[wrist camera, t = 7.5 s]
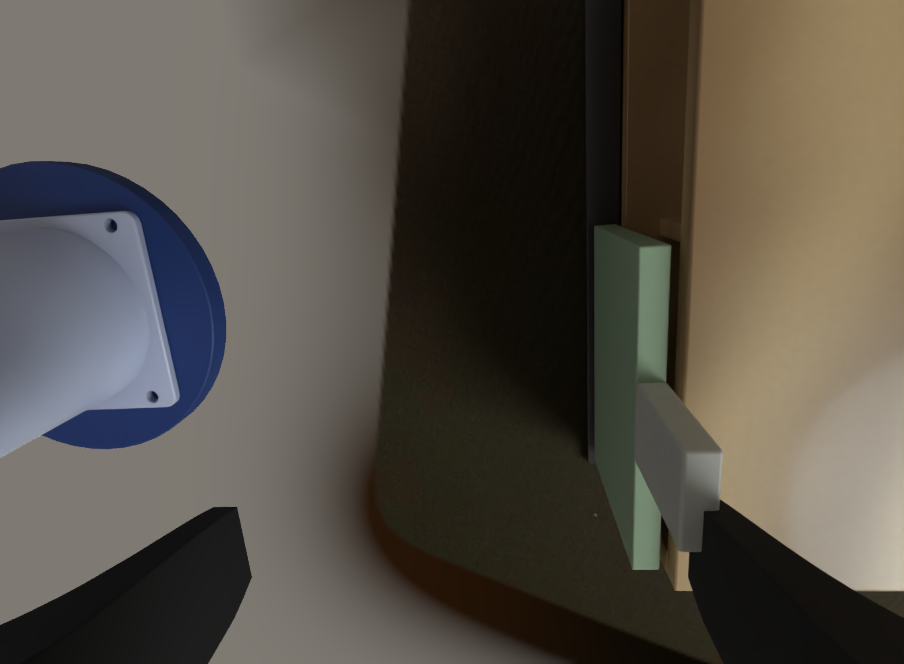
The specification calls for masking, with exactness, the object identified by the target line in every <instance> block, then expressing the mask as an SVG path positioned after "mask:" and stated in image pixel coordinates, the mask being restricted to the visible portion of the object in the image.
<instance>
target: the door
mask: <svg viewBox="0 0 904 664" xmlns="http://www.w3.org/2000/svg"><path fill="white" fill-rule="evenodd" d="M670 264H671V245H669V244H667V243H664V242H661V241H659V240H656V239H653V238H650V237H648V236H645V235H642V234H640V233H637V232H634V231H632V230H629V229H626V228H624V227H621V226H618V225H616V224H612V225H597V226H595V227H594V383H595V462H596V465H597V468H598V471H599V474H600V477H601V480H602V483H603V485H604V488H605V491H606V494H607V497H608V500H609V503H610V506H611V509H612V512H613V515H614V518H615V520H616V523H617V526H618V529H619V532H620V535H621V538H622V541H623V544H624V547H625V550H626V553H627V555H628V558H629V561H630V564H631V567H632V569H633V570H658V569H659V564H660V537H661V515H662V517H663V519H664V521H665V523H666V525H667V527H668V529H669V531H670V534H671V536H672V538H673V540H674V542H675V544H676V546H677V548H678V550H679V551H681V552H701V550H702V536H703V519H704V511H718V510H719V505H720V491H721V477H722V462H723V451H722V449H721V448H720V447H719V445H718V444H717V443H716V442H715V440H714V439H713V438H712V437H711V436H710V434H709V433H708V432H707V431H706V430H705V428H704V427H703V426H702V425H701V424H700V422H699V421H698V420H697V419H696V418H695V416H694V415H693V414H692V413H691V412H690V410H689V409H688V408H687V407H686V406H685V404H684V403H683V402H682V401H681V400H680V398H679V397H678V396H677V395H676V394H675V392H674V391H673V390H672V389H671V387H670V386H669V385H668V384H667V383H666V373H667V346H668V319H669V291H670Z"/></svg>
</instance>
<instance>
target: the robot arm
mask: <svg viewBox="0 0 904 664" xmlns="http://www.w3.org/2000/svg"><path fill="white" fill-rule="evenodd" d="M112 220H114V221H115V222H116V224H117V230H116V231H115V230H114V229H113V228H112V226H111V221H112ZM152 391H154V392H155V393H156V394H157V395H158V399H156V398H155V397H154V396H153V394H152ZM179 398H180V392H179V388H178V383H177V379H176V374H175V370H174V366H173V361H172V357H171V352H170V348H169V344H168V339H167V335H166V330H165V326H164V322H163V317H162V313H161V308H160V304H159V300H158V295H157V291H156V286H155V282H154V278H153V273H152V269H151V264H150V260H149V256H148V251H147V247H146V242H145V238H144V234H143V229H142V225H141V222H140V219H139V218H138V216H137V215H136V214H135V213H133V212H131V211H116V212H103V213H90V214H77V215H64V216H51V217H37V218H24V219H11V220H0V458H1V457H3V456H5V455H7V454H8V453H10V452H12V451H14V450H16V449H17V448H19V447H21V446H23V445H25V444H26V443H28V442H30V441H32V440H34V439H35V438H37V437H39V436H41V435H43V434H44V433H46V432H48V431H50V430H52V429H53V428H55V427H57V426H59V425H61V424H62V423H64V422H66V421H68V420H70V419H71V418H73V417H75V416H77V415H79V414H80V413H82V412H84V411H86V410H101V409H129V408H157V407H169V406H172V405H173V404H175V403H176V402H177V401H178V400H179ZM251 578H252V576H251V571H250V566H249V561H248V557H247V552H246V548H245V543H244V538H243V533H242V529H241V524H240V519H239V514H238V510H237V507H213V508H211V509H209V510H207V511H206V512H203V513H202V514H200V515H198V516H196V517H194V518H193V519H191V520H190V521H188V522H186V523H185V524H183V525H181V526H179V527H178V528H176V529H175V530H173V531H171V532H170V533H168V534H167V535H165V536H163V537H162V538H160V539H158V540H157V541H155V542H154V543H152V544H150V545H149V546H147V547H146V548H144V549H142V550H141V551H139V552H137V553H136V554H134V555H133V556H131V557H129V558H127V559H126V560H124V561H122V562H121V563H119V564H117V565H115V566H114V567H112V568H110V569H109V570H107V571H105V572H103V573H102V574H100V575H98V576H96V577H95V578H93V579H91V580H90V581H88V582H86V583H85V584H83V585H81V586H79V587H77V588H75V589H73V590H72V591H70V592H68V593H66V594H64V595H62V596H60V597H58V598H56V599H54V600H52V601H50V602H48V603H47V604H44V605H42V606H40V607H38V608H36V609H34V610H32V611H30V612H28V613H26V614H24V615H22V616H20V617H17V618H15V619H13V620H11V621H8V622H6V623H4V624H2V625H0V664H208V662H209V661H210V659H211V658H212V656H213V654H214V653H215V651H216V649H217V647H218V646H219V643H220V642H221V641H222V639H223V637H224V635H225V634H226V632H227V630H228V628H229V627H230V625H231V623H232V621H233V619H234V618H235V615H236V613H237V611H238V609H239V607H240V604H241V602H242V600H243V598H244V595H245V592H246V590H247V587H248V585H249V583H250V580H251ZM688 579H689V582H690V585H691V588H692V591H693V594H694V597H695V600H696V603H697V605H698V608H699V611H700V614H701V616H702V619H703V622H704V624H705V626H706V628H707V630H708V633H709V635H710V637H711V639H712V641H713V643H714V645H715V647H716V649H717V651H718V653H719V655H720V657H721V659H722V661H723V663H724V664H904V618H902V617H900V616H899V615H897V614H895V613H893V612H891V611H889V610H888V609H886V608H884V607H882V606H880V605H878V604H877V603H875V602H873V601H871V600H870V599H868V598H866V597H864V596H863V595H861V594H859V593H858V592H856V591H854V590H853V589H851V588H849V587H848V586H846V585H845V584H843V583H841V582H840V581H838V580H837V579H835V578H833V577H832V576H830V575H829V574H827V573H825V572H824V571H822V570H821V569H819V568H818V567H816V566H815V565H813V564H812V563H810V562H809V561H807V560H806V559H804V558H803V557H801V556H800V555H798V554H797V553H795V552H794V551H793V550H791V549H790V548H788V547H787V546H785V545H784V544H782V543H781V542H780V541H778V540H777V539H775V538H774V537H773V536H771V535H770V534H768V533H767V532H766V531H764V530H763V529H761V528H760V527H759V526H757V525H756V524H755V523H753V522H752V521H750V520H749V519H748V518H746V517H745V516H743V515H742V514H741V513H739V512H738V511H736V510H735V509H734V508H732V507H731V506H729V505H728V504H726V503H725V502H723V501H722V500H720V505H719V510H718V511H704V519H703V536H702V550H701V552H689V566H688Z"/></svg>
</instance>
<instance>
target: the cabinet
mask: <svg viewBox="0 0 904 664" xmlns="http://www.w3.org/2000/svg"><path fill="white" fill-rule="evenodd" d="M621 12H622V0H584V63H585V221H586V379H587V462H588V464H596V462H595V383H594V227H595V226H597V225H612V224H616V225H618V226H619V203H620V108H621ZM621 227H624V228H626V229H629V230H632V231H634V232H637V233H640V234H642V235H645V236H648V237H650V238H653V239H656V240H659V241H661V242H664V243H667V244H669V245H671V264H670V291H669V319H668V346H667V373H666V383H667V384H668V385H669V386H670V387H671V389H672V390H673V391H674V392H675V394H676V395H677V396H678V397H679V398H680V400H681V401H682V402H683V403H684V404H685V406H686V407H687V408H688V409H689V410H690V412H691V413H692V414H693V415H694V416H695V418H696V419H697V420H698V421H699V422H700V424H701V425H702V426H703V427H704V428H705V430H706V431H707V432H708V433H709V434H710V436H711V437H712V438H713V439H714V440H715V442H716V443H717V444H718V445H719V447H720V448H721V449H722V451H723V462H722V477H721V491H720V500H722V501H723V502H725V503H726V504H728V505H729V506H731V507H732V508H734V509H735V510H736V511H738V512H739V513H741V514H742V515H743V516H745V517H746V518H748V519H749V520H750V521H752V522H753V523H755V524H756V525H757V526H759V527H760V528H761V529H763V530H764V531H766V532H767V533H768V534H770V535H771V536H773V537H774V538H775V539H777V540H778V541H780V542H781V543H782V544H784V545H785V546H787V547H788V548H790V549H791V550H793V551H794V552H795V553H797V554H798V555H800V556H801V557H803V558H804V559H806V560H807V561H809V562H810V563H812V564H813V565H815V566H816V567H818V568H819V569H821V570H822V571H824V572H825V573H827V574H829V575H830V576H832V577H833V578H835V579H837V580H838V581H840V582H841V583H843V584H845V585H846V586H848V587H849V588H851V589H853V590H854V591H904V0H623V74H622V163H621ZM660 558H661V561H662V563H663V565H664V568H665V570H666V571H667V574H668V576H669V578H670V581H671V583H672V585H673V588H674V589H675V590H676V591H692V588H691V585H690V582H689V579H688V566H689V552H681V551H679V550H678V548H677V546H676V544H675V542H674V540H673V538H672V536H671V534H670V531H669V529H668V527H667V525H666V523H665V521H664V519H663V517H662V515H661V537H660Z"/></svg>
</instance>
